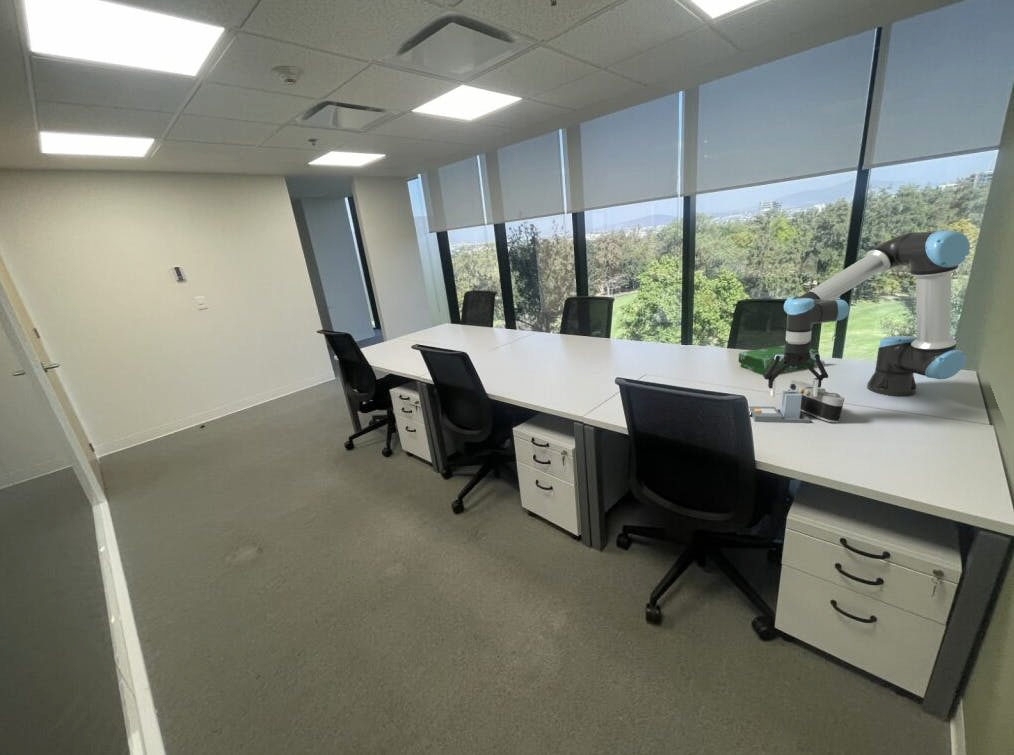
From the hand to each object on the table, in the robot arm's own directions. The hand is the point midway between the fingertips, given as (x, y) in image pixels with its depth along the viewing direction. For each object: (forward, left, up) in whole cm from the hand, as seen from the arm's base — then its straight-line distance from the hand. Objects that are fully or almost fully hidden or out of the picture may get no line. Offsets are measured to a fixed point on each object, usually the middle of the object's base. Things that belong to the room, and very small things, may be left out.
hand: (793, 395), depth 154 cm
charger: (0, 0, -9) cm, 9 cm away
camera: (-9, -5, -9) cm, 14 cm away
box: (-11, -62, -9) cm, 64 cm away
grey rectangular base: (+4, 0, -9) cm, 10 cm away
